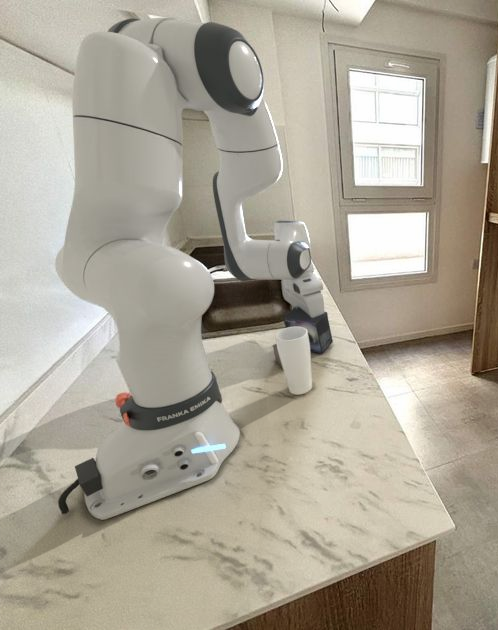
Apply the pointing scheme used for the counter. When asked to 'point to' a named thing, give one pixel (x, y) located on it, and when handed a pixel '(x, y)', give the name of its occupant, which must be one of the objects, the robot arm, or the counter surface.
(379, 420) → the counter surface
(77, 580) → the counter surface
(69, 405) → the counter surface
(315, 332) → the small box
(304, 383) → the drinking glass
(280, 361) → the walnut block
